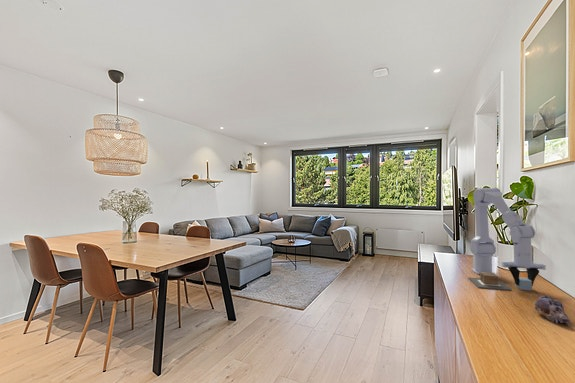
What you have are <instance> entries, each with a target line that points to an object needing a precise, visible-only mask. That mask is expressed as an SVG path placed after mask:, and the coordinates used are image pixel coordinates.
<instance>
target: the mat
mask: <svg viewBox="0 0 575 383" xmlns="http://www.w3.org/2000/svg"><path fill="white" fill-rule="evenodd" d="M468 280H470V282H471V283H472V284H473V285H474V286H475V287H476V288H477V289H481V290H482V289H483V290H485V289H486V290H494V291H495V290H498V291H509V292H513V289H512V288H510V287H509V286H508V285H507V284H505V283H504V282H502V281H501V280H500V279H498V285H489V284H484V283H483V282H481V279H480V277H468Z"/></svg>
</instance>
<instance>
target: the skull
mask: <svg viewBox="0 0 575 383" xmlns="http://www.w3.org/2000/svg"><path fill="white" fill-rule="evenodd" d="M564 308H565V307H564V305H563V303H562V302H561V301H560V300H558V299H555V298H553V297H551V296H550V295H545V294H544V295H541V296H538V298H537V299H536V301H535V302H534V309H535V310H536V311H537V312H539V313H540V314H541V315H542V316H544V317H545V318H546V319H548V320H549V321H552V322H553V323H554V322H555V323H556V324H558V323H559V322H560V323H562V324H563V323H565V324H566V325H567V326H568V327H570V319H569V316H568V314H566V313H565V311H564Z"/></svg>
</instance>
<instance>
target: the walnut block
mask: <svg viewBox="0 0 575 383" xmlns="http://www.w3.org/2000/svg"><path fill="white" fill-rule="evenodd" d="M495 274H496V273H494V272H493V273H487V272H480V274H479V275H480V277H479V278H480V279H481V282H483V283H484V284H489V285H498V280H499V279H498V278H499V276H498V275H497V274H496V275H495Z"/></svg>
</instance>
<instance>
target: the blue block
mask: <svg viewBox="0 0 575 383" xmlns="http://www.w3.org/2000/svg"><path fill="white" fill-rule="evenodd" d="M515 287H516V288H517V289H519V290H522V291H523V290H524V291H533V286H532V281H531V280H529V279H528V277H519V285H516V284H515Z"/></svg>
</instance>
